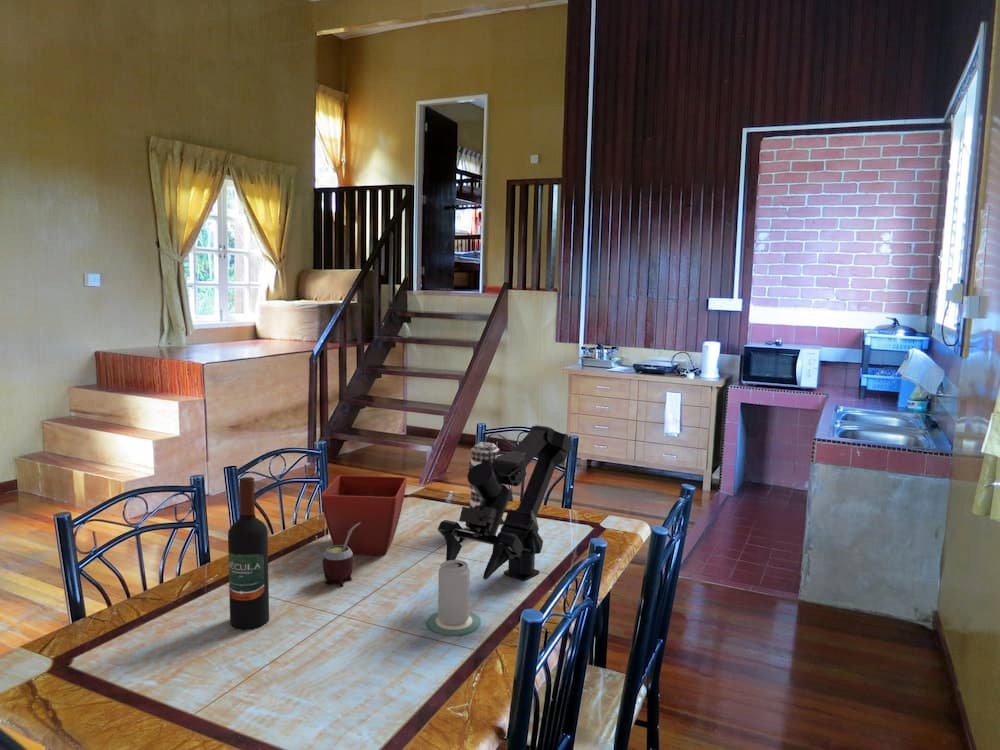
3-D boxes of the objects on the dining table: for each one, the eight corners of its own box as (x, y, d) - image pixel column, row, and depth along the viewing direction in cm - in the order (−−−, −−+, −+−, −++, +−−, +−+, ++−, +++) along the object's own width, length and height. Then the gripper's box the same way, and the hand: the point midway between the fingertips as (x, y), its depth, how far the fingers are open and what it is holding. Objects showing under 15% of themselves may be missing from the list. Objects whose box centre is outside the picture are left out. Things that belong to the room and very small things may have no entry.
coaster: (452, 606, 156) (452, 604, 156) (491, 621, 149) (491, 619, 149) (416, 624, 147) (416, 621, 147) (456, 641, 141) (456, 638, 141)
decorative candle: (462, 525, 209) (463, 441, 206) (491, 522, 213) (493, 439, 210) (474, 535, 201) (476, 448, 198) (504, 531, 205) (506, 446, 202)
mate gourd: (319, 578, 169) (319, 517, 167) (352, 573, 173) (352, 513, 171) (327, 590, 163) (327, 526, 161) (361, 584, 166) (361, 522, 164)
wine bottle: (276, 616, 149) (274, 476, 146) (253, 632, 142) (250, 485, 139) (246, 610, 152) (243, 472, 148) (221, 626, 145) (218, 481, 141)
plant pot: (395, 561, 181) (395, 496, 179) (320, 559, 181) (319, 494, 179) (407, 535, 200) (407, 476, 198) (338, 533, 200) (338, 475, 198)
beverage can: (473, 624, 146) (473, 568, 145) (442, 629, 144) (443, 572, 143) (463, 611, 152) (464, 557, 151) (434, 615, 150) (435, 560, 149)
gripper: (442, 484, 158) (413, 548, 150) (517, 497, 149) (491, 566, 141) (460, 509, 166) (434, 571, 158) (533, 523, 157) (509, 589, 149)
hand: (465, 574), depth 151 cm, fingers open, 9 cm apart
